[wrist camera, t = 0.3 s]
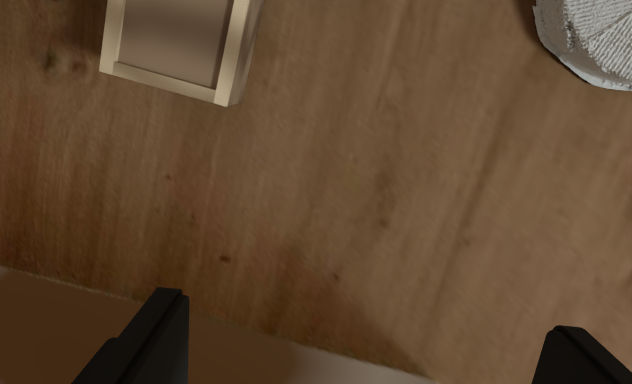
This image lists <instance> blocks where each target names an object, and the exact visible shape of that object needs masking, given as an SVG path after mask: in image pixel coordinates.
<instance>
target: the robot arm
mask: <svg viewBox="0 0 632 384" xmlns="http://www.w3.org/2000/svg"><path fill="white" fill-rule="evenodd" d="M188 337H189V297H188V296H185V295H183V293H182V290H181V289H173V288H163V287H158V288H157V289H156V290H155V291H154V292H153V294H152V295H151V296H150V297H149V299H148V300H147V301H146V302H145V304H144V305H143V306H142V308H141V309H140V310H139V311H138V313H137V314H136V315H135V316H134V318H133V319H132V320H131V322H130V323H129V324H128V325H127V326H126V328H125V329H124V330H123V332H122V333H121V334H120V335H119V337H118V338H110V339H108V340H107V341H106V342H105V343H104V345H103V346H102V347H101V348H100V349H99V351H98V352H97V353H96V354H95V355H94V357H93V358H92V359H91V360H90V361H89V363H88V364H87V365H86V366H85V368H84V369H83V370H82V371H81V372H80V374H79V375H78V376H77V377H76V378H75V380H74V381H73V382H72V383H71V384H187V383H188V339H189V338H188ZM532 384H632V372H631V371H630V370H628V369H627V368H626V367H625V366H624V365H623V364H622V363H621V362H620V361H619V360H618V359H616V358H615V357H614V356H613V355H612V354H611V353H610V352H609V351H608V350H607V349H606V348H604V347H603V346H602V345H601V344H600V343H599V342H598V341H597V340H596V339H595V338H594V337H592V336H591V335H590V334H589V333H588V332H587V331H586V330H585V329H583V328H580V327H571V326H561V325H558V326H555V327H554V328H553V330H551V331H549V332H548V333H547V335H546V338H545V341H544V344H543V348H542V351H541V354H540V358H539V361H538V364H537V368H536V371H535V374H534V378H533V381H532Z"/></svg>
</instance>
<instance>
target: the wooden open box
mask: <svg viewBox="0 0 632 384" xmlns="http://www.w3.org/2000/svg"><path fill="white" fill-rule="evenodd" d="M263 4H264V0H108V2H107V10H106V19H105V27H104V35H103V43H102V52H101V60H100V68H99V71H101V72H104V73H108V74H111V75H115V76H118V77H122V78H126V79H129V80H133V81H136V82H140V83H143V84H147V85H151V86H154V87H158V88H161V89H165V90H168V91H172V92H176V93H179V94H183V95H186V96H190V97H193V98H197V99H201V100H204V101H208V102H211V103H215V104H218V105H222V106H230V105H234V104H238V103H242V99H243V95H244V90H245V86H246V81H247V77H248V72H249V68H250V63H251V59H252V54H253V50H254V45H255V41H256V36H257V32H258V27H259V23H260V18H261V13H262V9H263Z"/></svg>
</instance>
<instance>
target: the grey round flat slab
mask: <svg viewBox="0 0 632 384" xmlns="http://www.w3.org/2000/svg"><path fill="white" fill-rule="evenodd" d="M536 2H537V3H536V6H532V7H533V11H534V16H535V24H536V28H537V32H538V36H539V37H540V41H541V42H542V43H543V45H544V46H545V47H546V48H547V49H548V50H549V51H551V52H552V53H553V54H555V55H556V56H557V57H558V58H559V59H560V61H561V62H563V63H564V64H565V65H566V66H568V67H569V68H570V69H571V70H572V71H574V72H575V73H576V74H578V75H579V76H580V77H581V78H583V79H584V80H586V81H587V82H589V83H590V84H592V85H595V86H599V87H604V88H608V89H617V90H625V91H628V90H630V91H632V0H536Z"/></svg>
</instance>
